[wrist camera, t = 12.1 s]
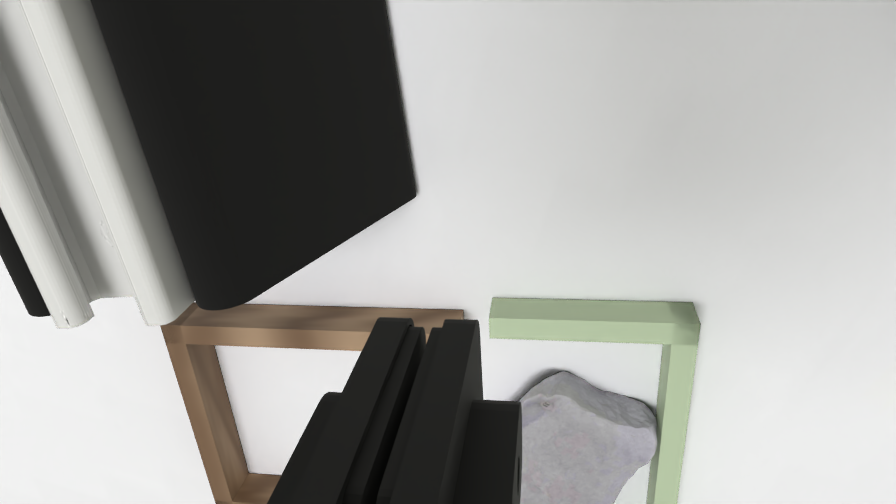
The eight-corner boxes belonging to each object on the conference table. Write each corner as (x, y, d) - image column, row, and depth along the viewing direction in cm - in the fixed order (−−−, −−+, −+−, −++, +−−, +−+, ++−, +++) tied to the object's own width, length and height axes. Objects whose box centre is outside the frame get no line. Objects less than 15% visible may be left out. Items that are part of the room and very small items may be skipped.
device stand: (104, 213, 43) (-95, 333, 30) (-47, -172, 34) (-439, -245, 20) (418, 190, 39) (347, 319, 26) (346, -259, 29) (173, -425, 16)
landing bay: (692, 302, 39) (700, 324, 37) (664, 528, 48) (669, 557, 45) (492, 297, 41) (488, 317, 39) (500, 515, 50) (498, 541, 48)
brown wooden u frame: (463, 309, 42) (456, 334, 39) (475, 504, 50) (470, 535, 47) (183, 302, 45) (160, 324, 43) (235, 485, 53) (219, 513, 50)
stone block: (473, 448, 50) (585, 516, 48) (454, 487, 45) (576, 563, 44) (540, 335, 45) (668, 407, 43) (526, 367, 40) (667, 449, 39)
